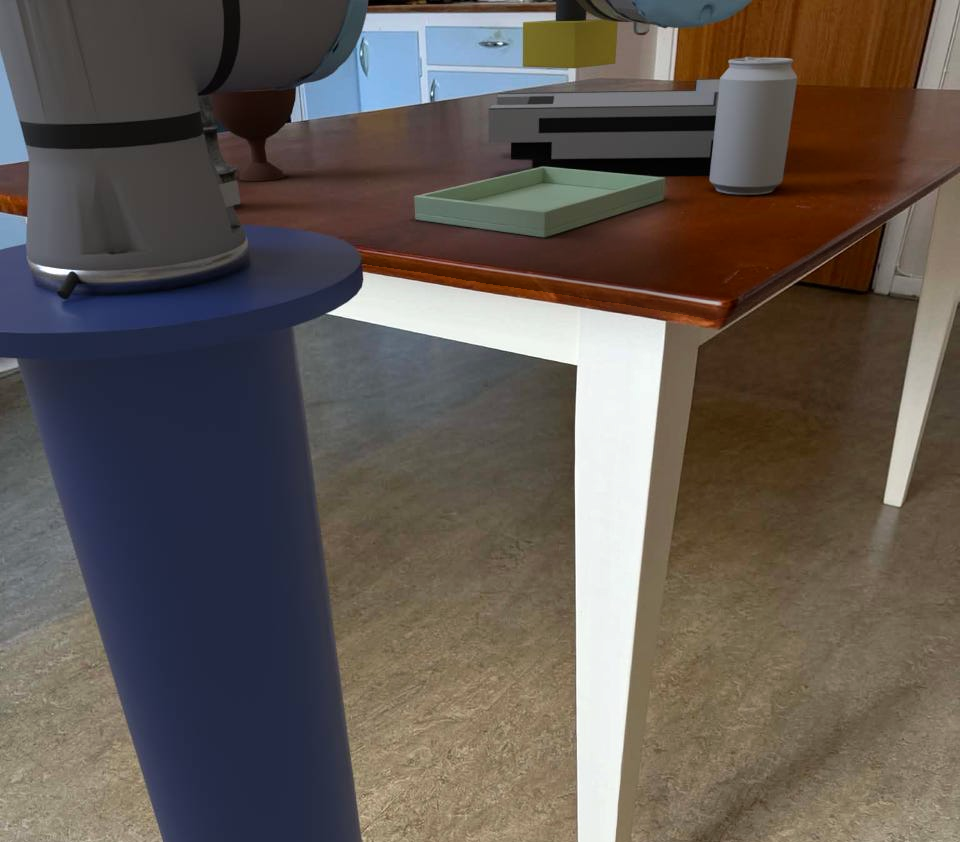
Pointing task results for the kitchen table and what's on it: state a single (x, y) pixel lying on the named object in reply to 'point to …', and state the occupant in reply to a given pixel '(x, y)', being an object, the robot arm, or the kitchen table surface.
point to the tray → (539, 200)
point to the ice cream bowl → (255, 123)
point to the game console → (611, 129)
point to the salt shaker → (214, 142)
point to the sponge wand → (569, 39)
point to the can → (752, 125)
